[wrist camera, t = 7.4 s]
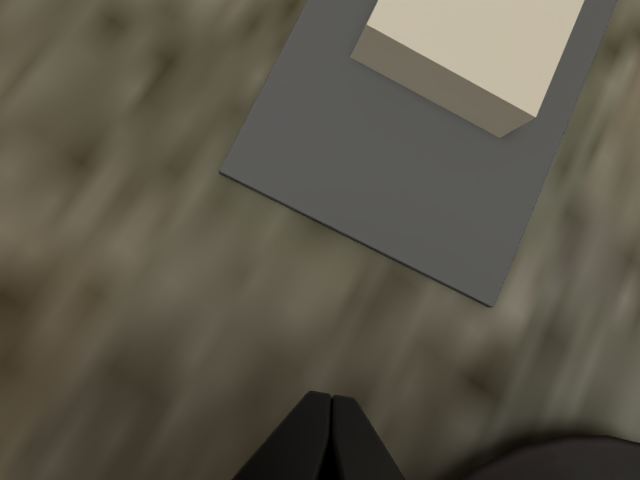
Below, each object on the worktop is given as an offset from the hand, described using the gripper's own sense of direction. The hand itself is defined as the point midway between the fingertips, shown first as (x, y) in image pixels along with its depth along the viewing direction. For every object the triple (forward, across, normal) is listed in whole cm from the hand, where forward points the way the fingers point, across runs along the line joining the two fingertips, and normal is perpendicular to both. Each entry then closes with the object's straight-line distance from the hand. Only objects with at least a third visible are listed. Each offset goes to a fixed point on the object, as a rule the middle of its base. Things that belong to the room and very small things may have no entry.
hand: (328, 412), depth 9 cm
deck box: (+14, +3, +3) cm, 15 cm away
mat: (+17, +3, +5) cm, 18 cm away
